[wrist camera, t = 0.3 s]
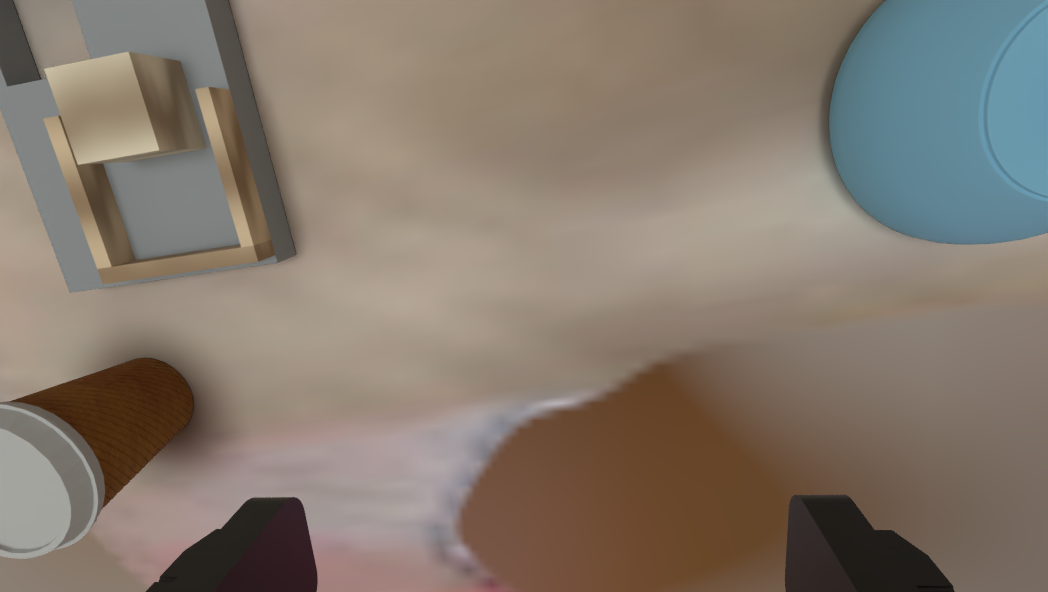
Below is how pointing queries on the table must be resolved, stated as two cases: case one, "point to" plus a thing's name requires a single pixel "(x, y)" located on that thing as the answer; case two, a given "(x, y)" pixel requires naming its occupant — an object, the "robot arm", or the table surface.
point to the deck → (156, 183)
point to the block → (125, 108)
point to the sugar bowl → (947, 119)
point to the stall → (107, 224)
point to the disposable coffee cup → (81, 450)
